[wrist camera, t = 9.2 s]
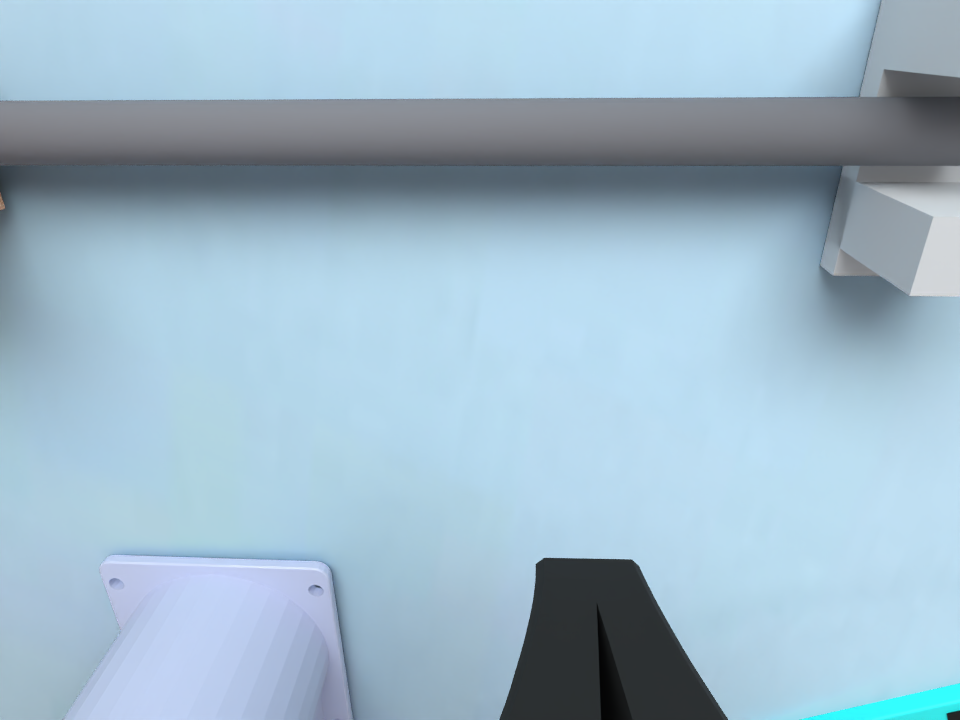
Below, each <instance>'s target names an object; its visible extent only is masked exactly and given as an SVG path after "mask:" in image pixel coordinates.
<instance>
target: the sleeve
mask: <svg viewBox="0 0 960 720" xmlns="http://www.w3.org/2000/svg"><path fill="white" fill-rule="evenodd" d="M2 209H5V206H4V203H3V200H2V197H1V194H0V210H2Z"/></svg>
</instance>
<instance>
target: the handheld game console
mask: <svg viewBox="0 0 960 720" xmlns="http://www.w3.org/2000/svg"><path fill="white" fill-rule="evenodd" d="M801 720H960V683H959V684H955V685H950V686H946V687H942V688H937V689H933V690H928V691H924V692H920V693H915V694H911V695H906V696H902V697H897V698H893V699H889V700H884V701H880V702H875V703H871V704H867V705H862V706H858V707H853V708H849V709H845V710H840V711H836V712H831V713H827V714H823V715H818V716H814V717H809V718H805V719H801Z"/></svg>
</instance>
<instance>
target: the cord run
mask: <svg viewBox="0 0 960 720" xmlns="http://www.w3.org/2000/svg"><path fill="white" fill-rule="evenodd" d="M0 165H363V166H843V168H842V173H841V177H840V181H839V186H838V190H837V194H836V198H835V203H834V207H833V211H832V216H831V220H830V224H829V228H828V233H827V237H826V241H825V246H824V250H823V254H822V258H821V263H820V266H821V267H823V268H824V269H825V270H826V271H828V272H829V273H830V274H831V275H833V276H881V277H882V278H884V279H885V280H887V281H888V282H890V283H891V284H893V285H894V286H896V287H897V288H899V289H900V290H901V291H903V292H904V293H906V294H907V295H909V296H960V0H882V1H881V6H880V10H879V14H878V18H877V23H876V27H875V31H874V36H873V40H872V44H871V48H870V53H869V57H868V61H867V66H866V70H865V74H864V78H863V83H862V87H861V91H860V96H859V97H757V98H537V99H317V100H97V101H0Z"/></svg>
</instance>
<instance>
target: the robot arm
mask: <svg viewBox="0 0 960 720" xmlns="http://www.w3.org/2000/svg"><path fill="white" fill-rule="evenodd" d="M99 571H100V574H101V577H102V580H103V583H104V586H105V588H106V591H107V594H108V597H109V599H110V602H111V605H112V608H113V611H114V613H115V616H116V619H117V622H118V625H119V627H120V630H121V632H120V633H119V635H118V636H117V638H116V639H115V641H114V642H113V644H112V645H111V647H110V648H109V650H108V651H107V653H106V654H105V656H104V657H103V659H102V660H101V662H100V664H99V665H98V667H97V668H96V670H95V671H94V673H93V674H92V676H91V677H90V679H89V680H88V682H87V683H86V685H85V686H84V688H83V689H82V691H81V692H80V694H79V695H78V697H77V698H76V700H75V701H74V703H73V704H72V706H71V707H70V709H69V710H68V712H67V714H66V715H65V717H64V718H63V720H353V716H352V709H351V702H350V695H349V689H348V682H347V675H346V668H345V661H344V655H343V648H342V641H341V634H340V628H339V621H338V614H337V607H336V600H335V594H334V587H333V580H332V573H331V570H330V568H329V567H328V566H327V565H326V564H324V563H322V562H317V561H294V560H262V559H230V558H198V557H166V556H134V555H110V556H108V557H106V558H105V560H104V561H103V562H102V563H101V565H100V567H99ZM314 585H318V586H320V587H321V588H319V587H316V586H314ZM500 720H728V719H727V717H726V716H725V714H724V713H723V711H722V710H721V708H720V706H719V705H718V703H717V702H716V700H715V699H714V697H713V696H712V694H711V692H710V691H709V689H708V688H707V686H706V685H705V683H704V682H703V680H702V678H701V677H700V675H699V674H698V672H697V671H696V669H695V667H694V666H693V664H692V663H691V661H690V659H689V658H688V656H687V654H686V653H685V651H684V649H683V648H682V646H681V644H680V643H679V641H678V639H677V637H676V636H675V634H674V632H673V631H672V629H671V627H670V625H669V624H668V622H667V620H666V618H665V616H664V615H663V613H662V611H661V609H660V607H659V606H658V604H657V602H656V600H655V598H654V596H653V594H652V592H651V590H650V588H649V586H648V584H647V582H646V580H645V578H644V576H643V574H642V572H641V570H640V567H639V566H638V565H637V564H636V563H635V562H634V561H633V560H625V559H573V558H543V559H542V560H541V561H539V562H538V563H537V564H536V582H535V590H534V598H533V604H532V609H531V614H530V619H529V623H528V627H527V632H526V636H525V640H524V644H523V647H522V651H521V654H520V658H519V661H518V664H517V668H516V671H515V674H514V678H513V681H512V685H511V688H510V691H509V694H508V697H507V700H506V703H505V706H504V709H503V711H502V714H501V717H500Z"/></svg>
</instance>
